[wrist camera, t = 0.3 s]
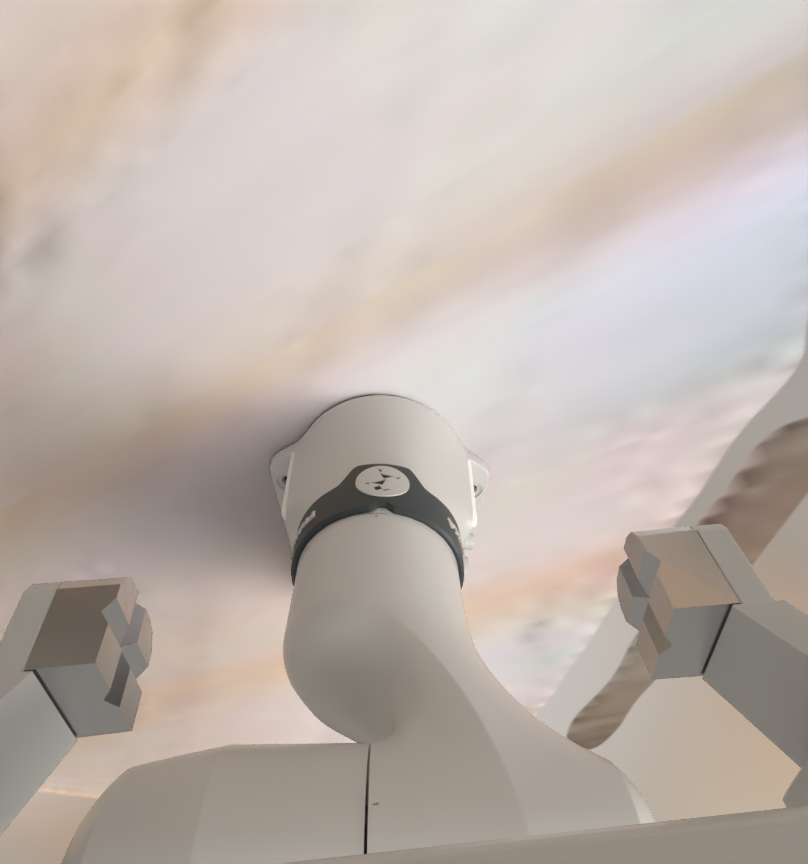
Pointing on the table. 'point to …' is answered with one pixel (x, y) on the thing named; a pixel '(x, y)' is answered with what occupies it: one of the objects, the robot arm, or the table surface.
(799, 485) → the table surface
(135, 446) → the table surface
